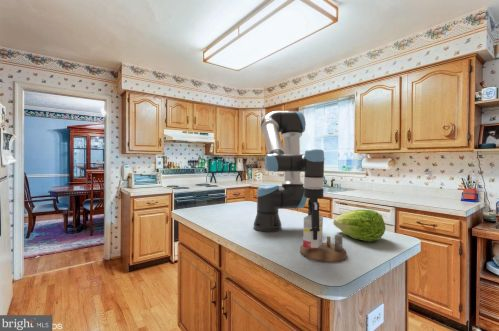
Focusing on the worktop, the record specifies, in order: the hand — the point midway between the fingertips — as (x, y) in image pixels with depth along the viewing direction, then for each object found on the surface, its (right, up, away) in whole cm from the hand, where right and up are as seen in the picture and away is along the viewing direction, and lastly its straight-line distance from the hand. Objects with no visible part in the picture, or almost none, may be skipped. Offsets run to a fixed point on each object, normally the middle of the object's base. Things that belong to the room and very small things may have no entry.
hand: (312, 242), depth 102 cm
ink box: (0, -1, 0) cm, 1 cm away
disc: (+4, -4, 0) cm, 6 cm away
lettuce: (+27, -4, +21) cm, 34 cm away
